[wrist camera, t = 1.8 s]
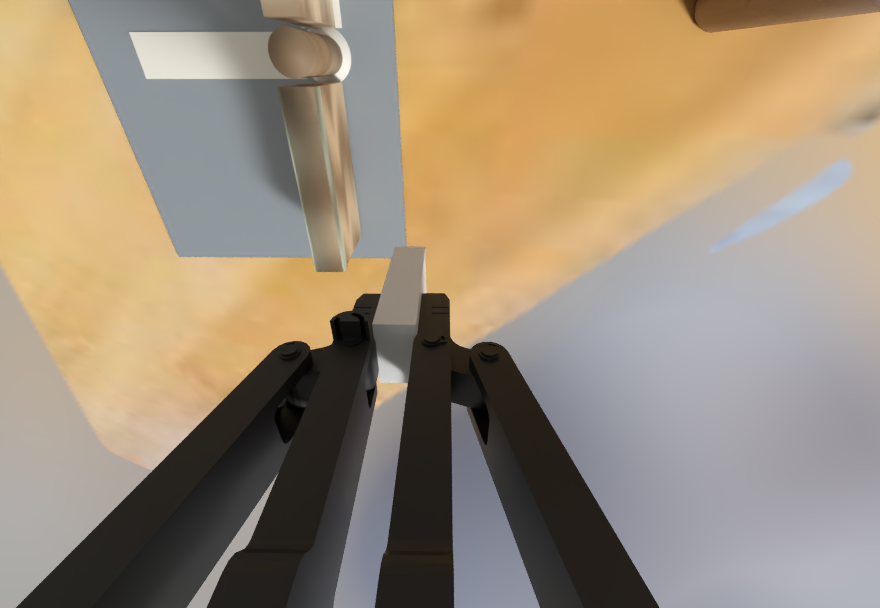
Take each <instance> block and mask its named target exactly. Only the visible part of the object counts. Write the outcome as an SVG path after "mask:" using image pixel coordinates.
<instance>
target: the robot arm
mask: <svg viewBox="0 0 880 608" xmlns="http://www.w3.org/2000/svg"><path fill="white" fill-rule="evenodd" d="M330 324H331V329H332V334H333V339H334V340H333V343H332V345H329V346H327V347H323V348H318V349H314V350H310V347H309V346H308V344H307V343H304V342H301V341H292V342H287V343H284V344H282V345H279V346H278V347H277V348H275V349H274V350H273V351H272V352H271V353H270V354H269V355H268V356H267V357H266V358H265V359H264V360H263V361H262V362H261V363H260V364H259V365H258V366H257V367H256V368H255V369H254V370H253V371H252V372H251V373H250V374H249V375H248V376H247V377H246V378H245V379H244V380H243V381H242V382H241V383H240V384H239V385H238V386H237V387H236V388H235V389H234V390H233V391H232V392H231V393H230V394H229V395H228V396H227V397H226V398H225V399H224V400H223V401H222V402H221V403H220V404H219V405H218V406H217V407H216V408H215V409H214V410H213V411H212V412H211V413H210V414H209V415H208V416H207V417H206V418H205V419H204V420H203V421H202V422H201V423H200V424H199V425H198V426H197V427H196V428H195V429H194V430H193V431H192V432H191V433H190V434H189V435H188V436H187V437H186V438H185V439H184V440H183V441H182V442H181V443H180V444H179V445H178V446H177V447H176V448H175V449H174V450H173V451H172V452H171V453H170V454H169V455H168V456H167V457H166V458H165V459H164V460H163V461H162V462H161V463H160V464H159V465H158V466H157V467H156V468H155V469H154V470H153V471H152V472H151V473H150V474H149V475H148V476H147V477H146V478H145V479H144V480H143V481H142V482H141V483H140V484H139V485H138V486H137V487H136V488H135V489H134V490H133V491H132V492H131V493H130V494H129V495H128V496H127V497H126V498H125V499H124V500H123V501H122V502H121V503H120V504H119V505H118V506H117V507H116V508H115V509H114V510H113V511H112V512H111V513H110V514H109V515H108V516H107V517H106V518H105V519H104V520H103V521H102V522H101V523H100V524H99V525H98V526H97V527H96V528H95V529H94V530H93V531H92V532H91V533H90V534H89V535H88V536H87V537H86V538H85V539H84V540H83V541H82V542H81V543H80V544H79V545H78V546H77V547H76V548H75V549H74V550H73V551H72V552H71V553H70V554H69V555H68V556H67V557H66V558H65V559H64V560H63V561H62V562H61V563H60V564H59V565H58V566H57V567H56V568H55V569H54V570H53V571H52V572H51V573H50V574H49V575H48V576H47V577H46V578H45V579H44V580H43V581H42V582H41V583H40V584H39V585H38V586H37V587H36V588H35V589H34V590H33V591H32V592H31V593H30V594H29V595H28V596H27V597H26V598H25V599H24V600H23V601H22V602H21V603H20V604H19V605H18V606H17V607H16V608H186V607H187V606H188V605H189V603H190V602H191V600H192V599H193V597H194V596H195V594H196V593H197V591H198V590H199V588H200V587H201V586H202V584H203V582H204V581H205V580H206V578H207V576H208V575H209V574H210V572H211V571H212V569H213V568H214V566H215V565H216V563H217V562H218V561H219V559H220V557H221V556H222V555H223V553H224V552H225V550H226V549H227V547H228V546H229V544H230V543H231V541H232V540H233V538H234V537H235V536H236V534H237V532H238V531H239V530H240V528H241V527H242V525H243V524H244V522H245V521H246V519H247V518H248V516H249V515H250V513H251V512H252V510H253V509H254V508H255V506H256V505H257V503H258V502H259V500H260V499H261V497H262V496H263V494H264V493H265V491H266V490H267V488H268V487H269V486H270V484H271V483H272V481H273V480H274V478H275V477H276V475H277V474H278V475H277V478H276V480H275V483H274V485H273V487H272V490H271V492H270V495H269V497H268V499H267V502H266V504H265V507H264V509H263V512H262V514H261V516H260V519H259V521H258V524H257V526H256V528H255V531H254V533H253V536H252V538H251V540H250V542H249V544H248V545H247V546H246V548H245V549H243V550H241V551H239V552H236V553H235V554H234V555H233V556H232V557H231V559H230V560H229V561H228V563H227V565H226V567H225V569H224V571H223V572H222V575H221V577H220V579H219V581H218V583H217V586H216V588H215V590H214V592H213V595H212V597H211V599H210V602H209V604H208V606H207V608H333V604H334V596H335V591H336V586H337V581H338V577H339V572H340V567H341V563H342V558H343V553H344V548H345V544H346V539H347V534H348V529H349V525H350V520H351V515H352V511H353V506H354V501H355V496H356V491H357V487H358V482H359V477H360V472H361V467H362V463H363V458H364V453H365V449H366V444H367V439H368V435H369V430H370V425H371V420H372V415H373V411H374V406H375V401H376V397H377V384H376V381H377V377H378V376H379V383H408V387H407V395H406V403H405V411H404V418H403V426H402V434H401V442H400V451H399V459H398V466H397V474H396V481H395V490H394V497H393V505H392V513H391V521H390V529H389V537H388V544H387V549H386V551H385V553H384V554H383V558H382V562H381V568H380V574H379V581H378V588H377V596H376V603H375V608H454V573H453V572H454V568H453V545H452V544H453V540H452V539H453V537H452V448H451V447H452V446H451V445H452V442H451V402H453V403H456V404H460V405H463V406H466V407H467V411H468V414H469V416H470V419H471V422H472V424H473V427H474V430H475V432H476V435H477V438H478V441H479V443H480V446H481V449H482V452H483V454H484V457H485V459H486V462H487V465H488V468H489V470H490V473H491V476H492V478H493V481H494V484H495V486H496V489H497V492H498V495H499V498H500V500H501V503H502V506H503V508H504V511H505V514H506V516H507V519H508V522H509V525H510V527H511V530H512V532H513V535H514V538H515V541H516V543H517V546H518V549H519V552H520V554H521V557H522V560H523V562H524V565H525V568H526V571H527V573H528V576H529V579H530V581H531V584H532V587H533V589H534V592H535V595H536V598H537V600H538V603H539V606H540V608H659V606H658V604H657V603H656V601H655V599H654V598H653V596H652V594H651V592H650V591H649V589H648V587H647V586H646V584H645V582H644V581H643V579H642V577H641V576H640V574H639V572H638V571H637V569H636V567H635V566H634V564H633V562H632V560H631V559H630V557H629V555H628V554H627V552H626V550H625V549H624V547H623V545H622V544H621V542H620V540H619V538H618V537H617V535H616V533H615V532H614V530H613V528H612V527H611V525H610V523H609V522H608V520H607V519H606V517H605V515H604V513H603V512H602V510H601V508H600V506H599V505H598V503H597V501H596V500H595V498H594V496H593V495H592V493H591V491H590V489H589V488H588V486H587V484H586V483H585V481H584V479H583V478H582V476H581V474H580V473H579V471H578V469H577V467H576V466H575V464H574V463H573V461H572V459H571V457H570V456H569V454H568V452H567V451H566V449H565V447H564V446H563V444H562V442H561V440H560V439H559V437H558V435H557V434H556V432H555V430H554V429H553V427H552V425H551V424H550V422H549V420H548V419H547V417H546V415H545V413H544V412H543V410H542V408H541V407H540V405H539V403H538V402H537V400H536V398H535V397H534V395H533V393H532V391H531V390H530V388H529V386H528V385H527V383H526V381H525V380H524V378H523V376H522V375H521V373H520V371H519V370H518V368H517V366H516V364H515V363H514V361H513V359H512V358H511V356H510V354H509V353H508V351H507V350H506V349H505V348H504V347H503V346H501V345H499V344H497V343H493V342H482V343H478V344H476V345H475V346H473V347H472V348H471V349H467V348H464V347H461V346H459V345H457V344H456V343H454V342H453V341H452V339H451V337H450V301H449V299H448V297H447V296H446V295H445V293H426V253H425V247H395V248H394V252H393V255H392V258H391V262H390V265H389V269H388V272H387V275H386V279H385V282H384V286H383V289H382V293H381V294H363V295H362V296H361V297H359V298H358V299H357V300H356V303H355V305H354V308H353V310H352V311H346V312H342V313H339V314H337V315H336V316H334V317H333V318H332V319H331V320H330ZM278 472H279V473H278Z"/></svg>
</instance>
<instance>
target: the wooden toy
mask: <svg viewBox="0 0 880 608" xmlns="http://www.w3.org/2000/svg"><path fill="white" fill-rule="evenodd" d="M694 12H695V20H696V22H697V24H698V26H699V27H700V28H701V29H702V30H703V31H706V32H710V33H712V32H720V31H728V30H736V29H744V28H752V27H761V26H769V25H777V24H785V23H793V22H801V21H809V20H817V19H826V18H834V17H842V16H850V15H858V14H866V13H874V12H880V0H697V2H696V6H695V11H694Z"/></svg>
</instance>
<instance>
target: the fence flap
mask: <svg viewBox="0 0 880 608" xmlns="http://www.w3.org/2000/svg"><path fill="white" fill-rule="evenodd" d="M277 91H278V96H279V100H280V105H281V110H282V115H283V119H284V124H285V129H286V134H287V138H288V143H289V148H290V153H291V157H292V162H293V167H294V172H295V176H296V181H297V186H298V191H299V195H300V200H301V205H302V210H303V214H304V219H305V224H306V229H307V233H308V238H309V243H310V248H311V252H312V257H313V262H314V267H315V271H316V272H345V270H346V268H347V266H348V265H347V264H348V262H349V260H350V258H351V256H352V254H353V252H354V250H355V248H356V246H357V244H358V242H359V240H360V238H361V228H360V220H359V212H358V204H357V196H356V188H355V180H354V172H353V164H352V156H351V148H350V140H349V132H348V124H347V116H346V108H345V100H344V92H343V84H342V82H313V83H305V84H298V85H290V86H280V87H277Z"/></svg>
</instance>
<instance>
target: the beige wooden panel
mask: <svg viewBox="0 0 880 608" xmlns="http://www.w3.org/2000/svg"><path fill="white" fill-rule="evenodd" d="M260 1H261V6H262V11H263V15H264V17H267V18H271V19H275V20H279V21H283V22H286V23H290V24H294V25H298V26H301V27H305V28H335V21H334V13H333V5H332V0H260ZM268 53H269V57H270V60H271V62H272V64H273V65H274V67H275V68H276V69H277V70H278V71H279V72H280V73H281V74H282V75H284V76H286V77H288V78H292V79H298V78H309V77H320V76H331V75H334V74H336V73H337V72H338V71H339V70H340V68H341V66H342V60H343V57H342V52H341V49H340V47H339V45H338V44H337V42H336V41H335V40H334V39H332V38H331V37H329V36H326V35H321V34H317V33H313V32H309V31H305V30H301V29H297V28H293V27H288V26H282V27H279V28H277V29H275V30H274V31H273V32H272V34H271V35H270V37H269V41H268Z"/></svg>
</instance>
